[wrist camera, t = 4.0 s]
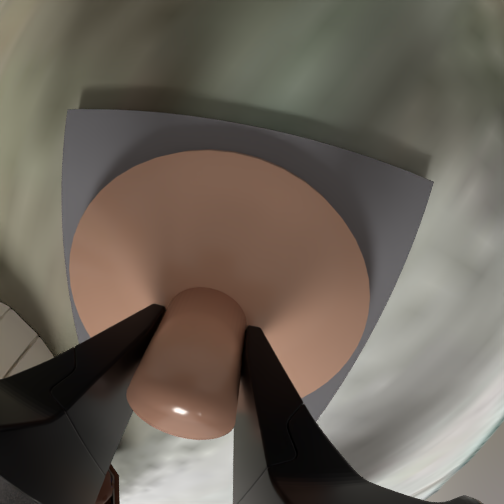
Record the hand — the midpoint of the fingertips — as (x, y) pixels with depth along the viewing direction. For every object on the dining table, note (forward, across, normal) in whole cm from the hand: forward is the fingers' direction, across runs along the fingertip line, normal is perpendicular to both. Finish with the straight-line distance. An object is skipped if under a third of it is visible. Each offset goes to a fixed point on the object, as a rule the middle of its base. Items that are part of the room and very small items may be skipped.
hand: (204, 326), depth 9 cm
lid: (+1, 0, 0) cm, 1 cm away
